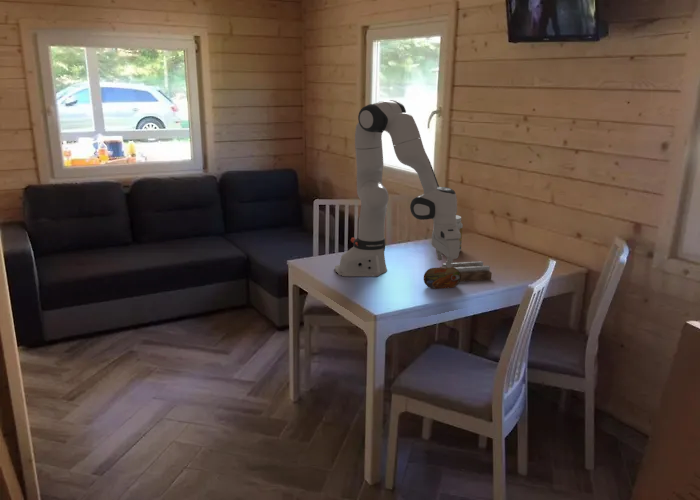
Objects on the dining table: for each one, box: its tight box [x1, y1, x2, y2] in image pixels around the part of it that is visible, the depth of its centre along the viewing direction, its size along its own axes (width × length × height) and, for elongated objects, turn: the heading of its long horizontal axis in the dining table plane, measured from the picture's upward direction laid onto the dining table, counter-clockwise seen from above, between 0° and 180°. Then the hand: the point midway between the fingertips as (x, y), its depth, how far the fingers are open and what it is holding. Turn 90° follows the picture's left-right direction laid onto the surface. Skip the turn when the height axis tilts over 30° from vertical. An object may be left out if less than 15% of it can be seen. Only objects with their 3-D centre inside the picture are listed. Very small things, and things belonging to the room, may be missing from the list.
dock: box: [440, 260, 492, 283], centre depth 253 cm, size 18×12×5 cm, turn 103°
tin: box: [423, 266, 461, 290], centre depth 239 cm, size 15×3×8 cm, turn 102°
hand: (444, 263), depth 236 cm, fingers open, 8 cm apart
